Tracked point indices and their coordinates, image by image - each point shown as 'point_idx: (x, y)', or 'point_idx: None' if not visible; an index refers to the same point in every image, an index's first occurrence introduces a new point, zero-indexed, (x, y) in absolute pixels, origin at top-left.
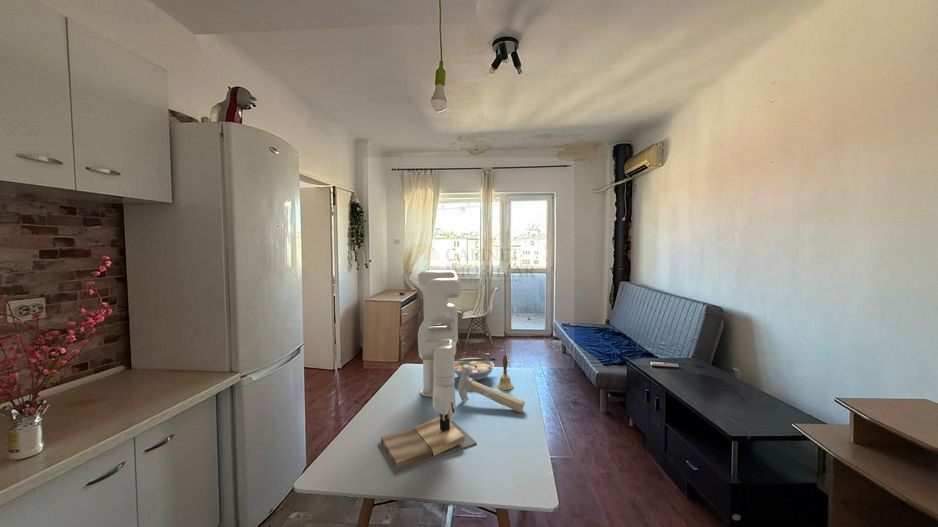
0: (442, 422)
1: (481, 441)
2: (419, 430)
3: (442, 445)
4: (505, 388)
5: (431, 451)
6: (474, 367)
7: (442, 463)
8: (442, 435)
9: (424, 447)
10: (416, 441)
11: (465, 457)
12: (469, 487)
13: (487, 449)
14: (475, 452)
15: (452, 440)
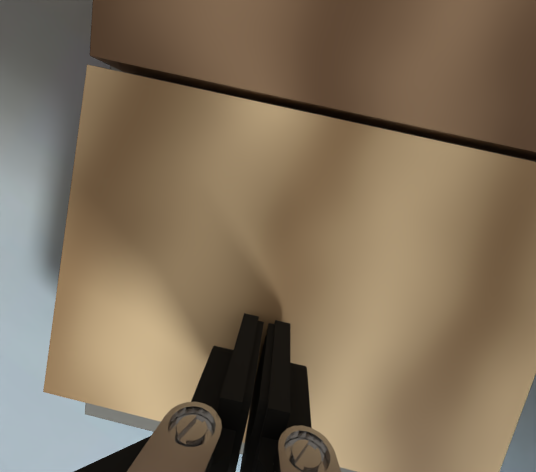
0: (224, 382)
1: (101, 440)
2: (491, 180)
3: (76, 175)
4: None
5: (91, 50)
6: None
7: (37, 102)
8: (205, 277)
9: (185, 29)
10: (341, 25)
11: (14, 266)
12: None
13: (15, 407)
14: (26, 343)
15: (67, 284)
